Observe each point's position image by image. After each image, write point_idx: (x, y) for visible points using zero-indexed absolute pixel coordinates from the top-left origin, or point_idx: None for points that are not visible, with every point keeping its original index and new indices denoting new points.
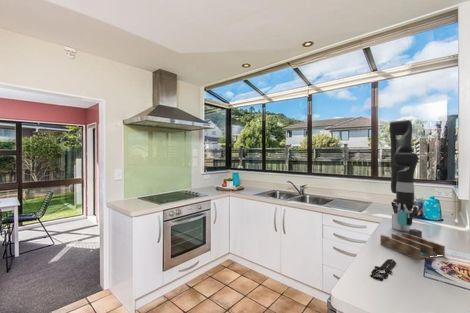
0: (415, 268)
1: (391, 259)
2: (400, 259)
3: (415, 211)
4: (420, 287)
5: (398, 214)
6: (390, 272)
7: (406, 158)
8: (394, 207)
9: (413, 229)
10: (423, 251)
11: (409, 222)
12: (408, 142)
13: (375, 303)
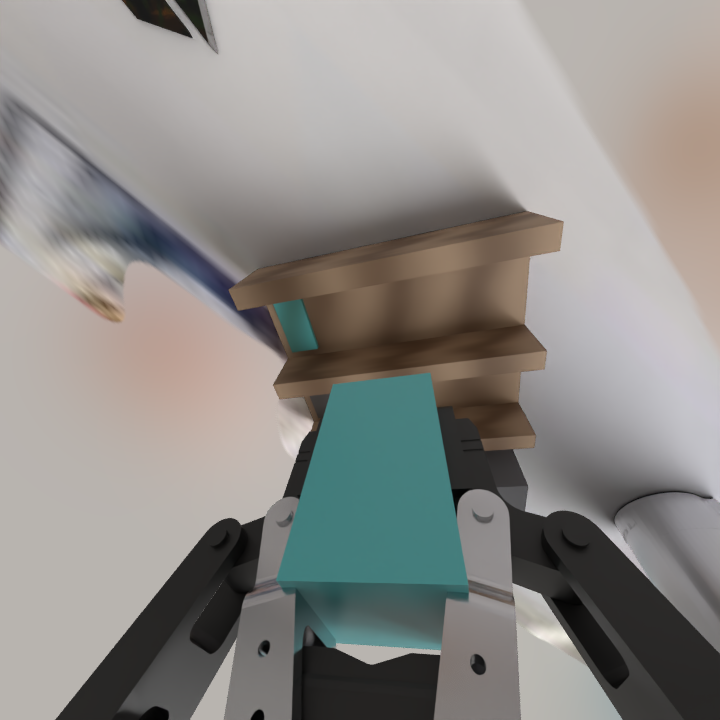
0: (117, 139)
1: (197, 24)
2: (239, 141)
3: (98, 675)
4: None
5: (444, 491)
6: None
7: None
8: (674, 697)
9: (517, 502)
10: (318, 358)
11: (309, 446)
12: None
13: None
